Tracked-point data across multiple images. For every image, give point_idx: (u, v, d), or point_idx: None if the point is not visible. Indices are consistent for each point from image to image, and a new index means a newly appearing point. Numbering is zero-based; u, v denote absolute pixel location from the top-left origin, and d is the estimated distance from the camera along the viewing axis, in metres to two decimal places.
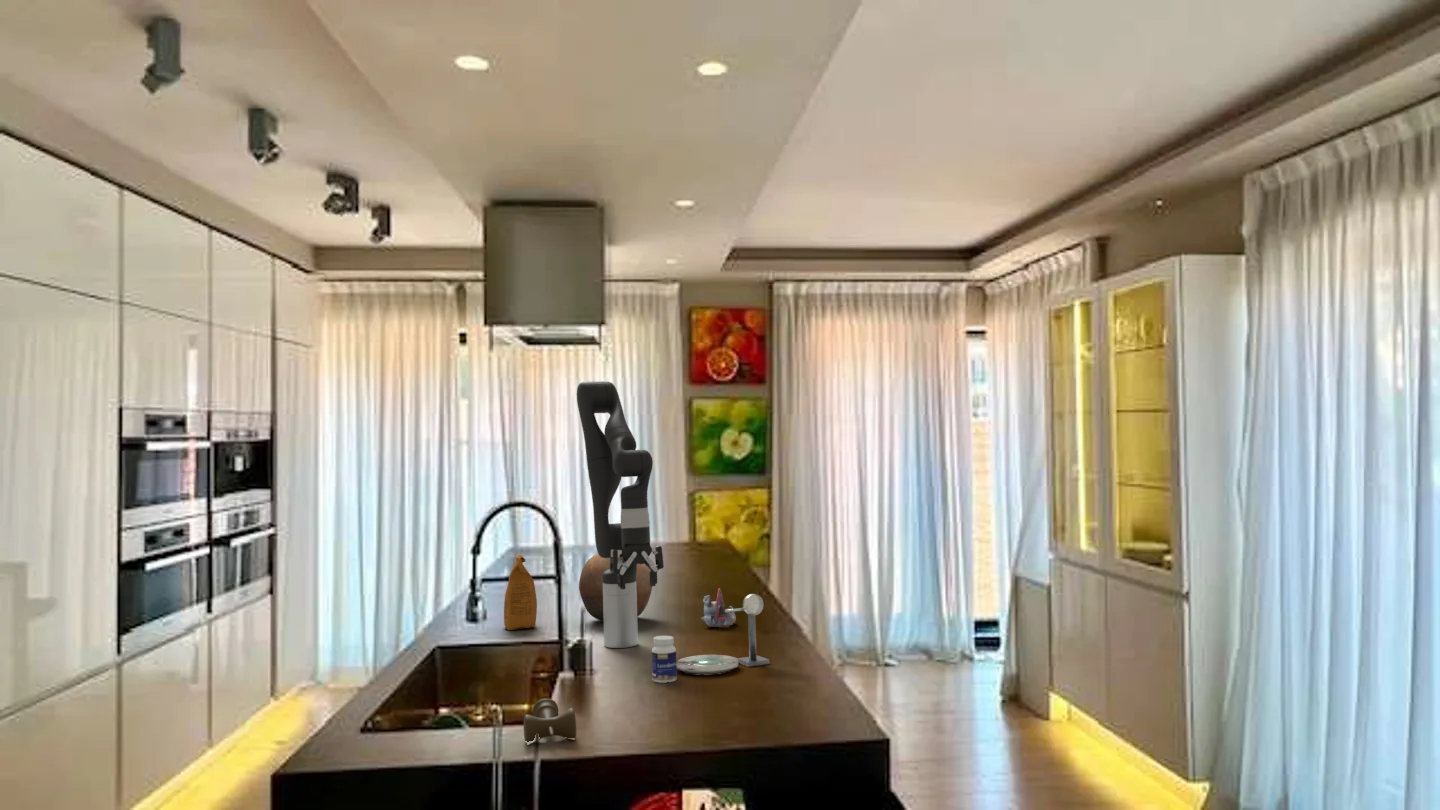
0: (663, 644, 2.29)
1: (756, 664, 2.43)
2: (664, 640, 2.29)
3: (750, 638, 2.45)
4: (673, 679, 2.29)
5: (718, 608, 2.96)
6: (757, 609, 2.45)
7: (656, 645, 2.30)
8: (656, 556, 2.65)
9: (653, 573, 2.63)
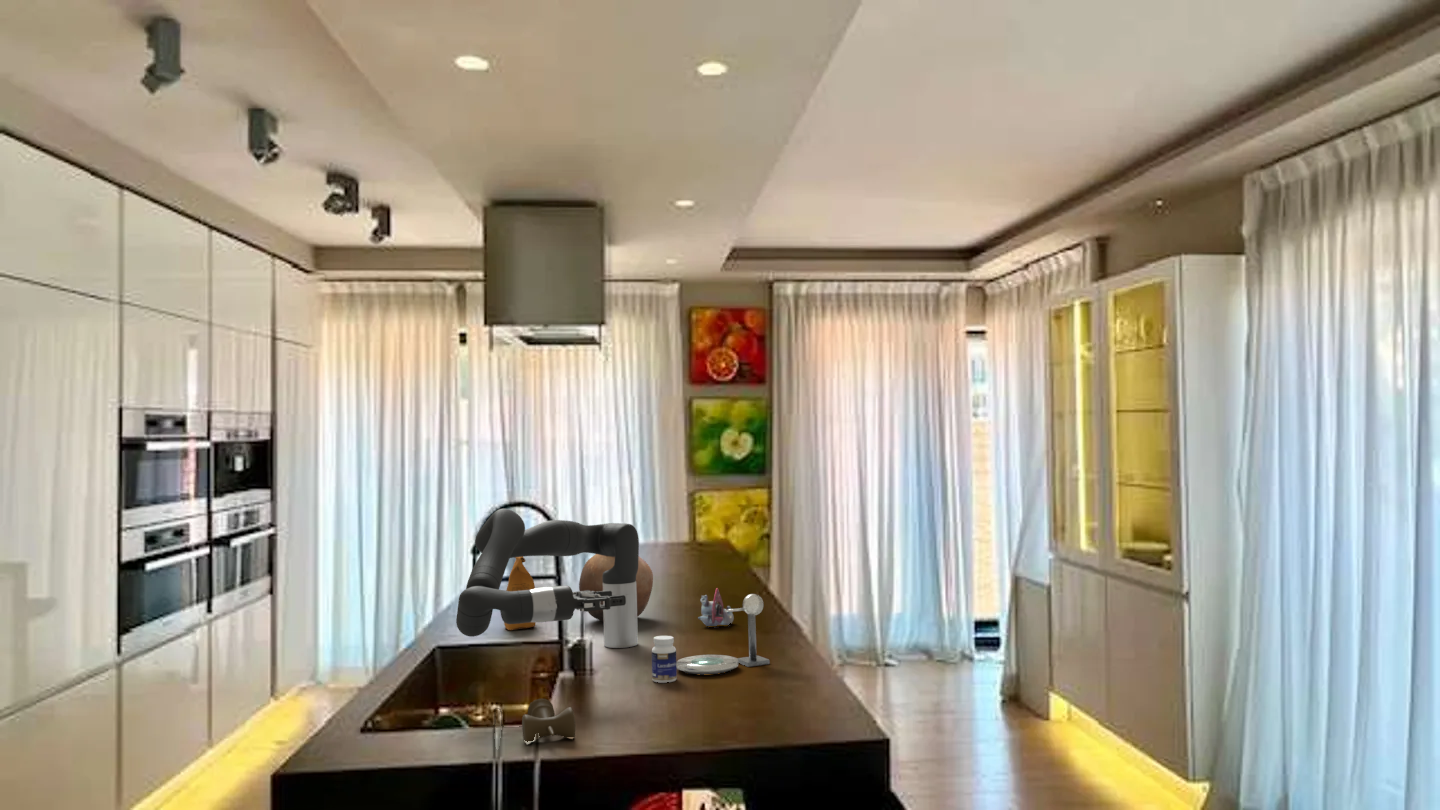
0: (663, 644, 2.29)
1: (756, 664, 2.43)
2: (664, 640, 2.29)
3: (750, 638, 2.45)
4: (673, 679, 2.29)
5: (715, 608, 2.96)
6: (757, 609, 2.45)
7: (656, 645, 2.30)
8: None
9: (597, 592, 2.29)
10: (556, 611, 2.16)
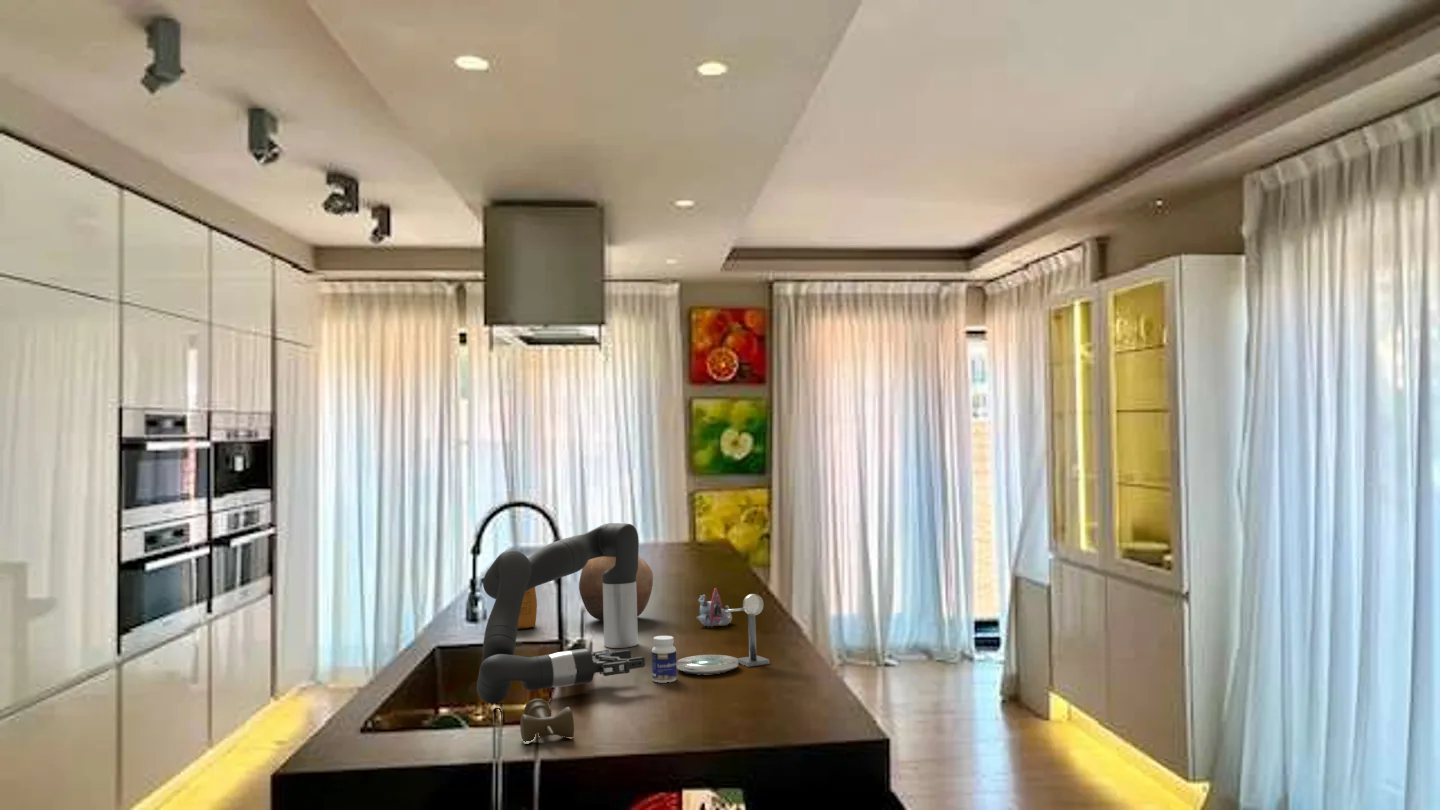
0: (663, 645, 2.29)
1: (756, 664, 2.43)
2: (664, 640, 2.29)
3: (750, 638, 2.45)
4: (673, 679, 2.29)
5: (714, 608, 2.97)
6: (757, 609, 2.45)
7: (656, 645, 2.30)
8: None
9: (616, 652, 2.29)
10: (576, 676, 2.17)
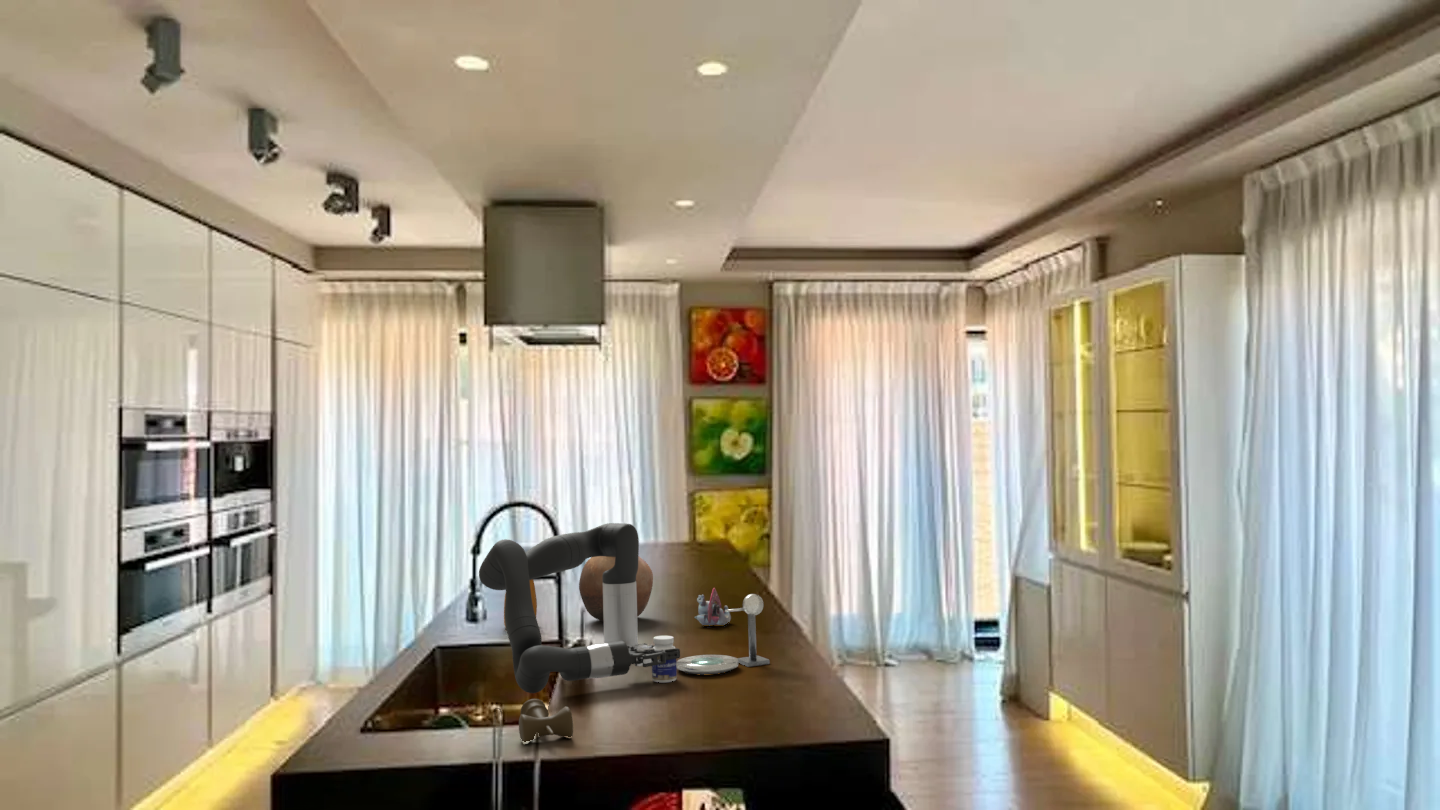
0: (663, 644, 2.29)
1: (756, 664, 2.43)
2: (664, 639, 2.29)
3: (750, 638, 2.45)
4: (673, 679, 2.29)
5: (712, 607, 2.97)
6: (757, 609, 2.45)
7: (656, 645, 2.30)
8: None
9: None
10: (613, 667, 2.21)
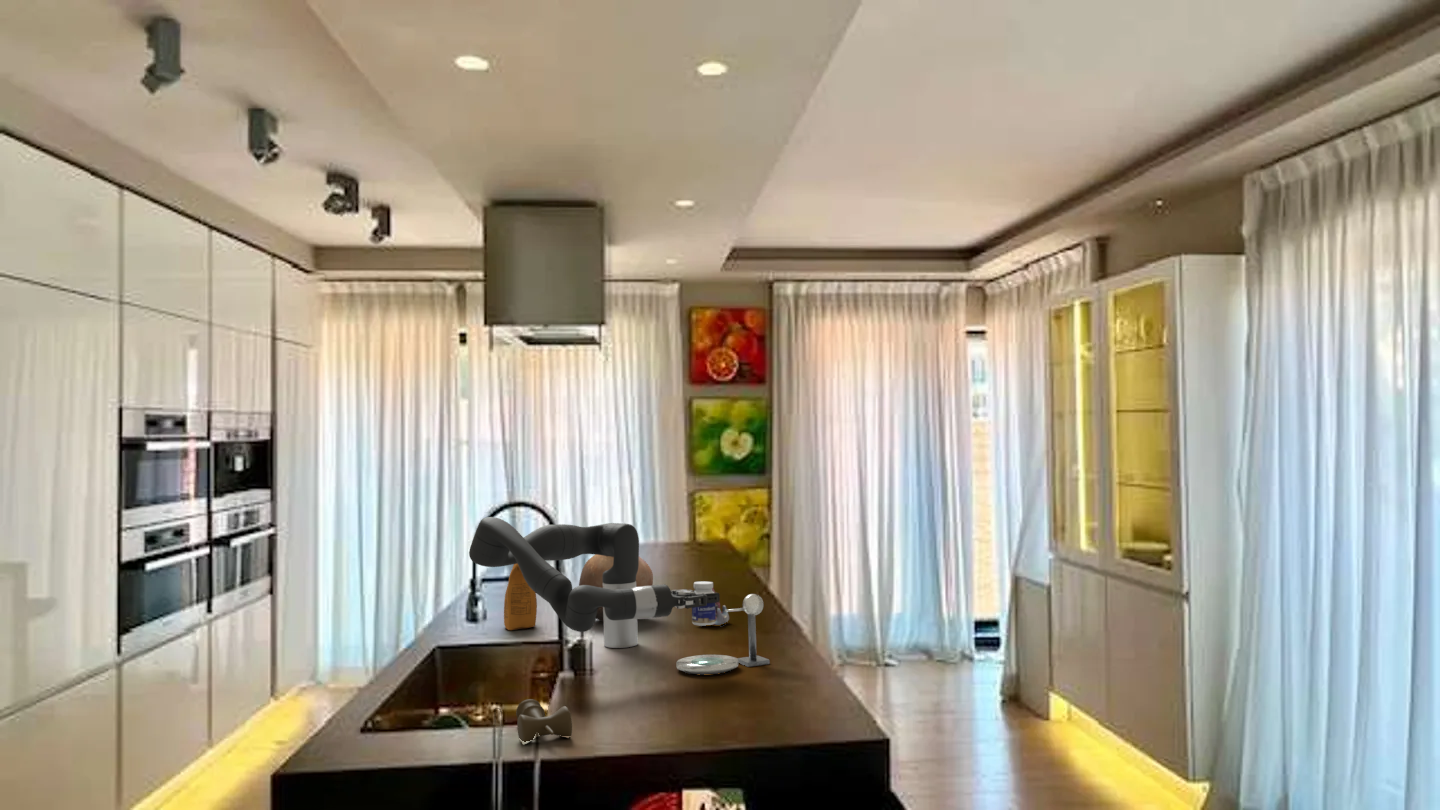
0: (704, 589, 2.38)
1: (756, 664, 2.43)
2: (705, 584, 2.38)
3: (750, 638, 2.45)
4: (712, 622, 2.38)
5: None
6: (757, 609, 2.45)
7: (696, 589, 2.39)
8: None
9: (694, 590, 2.43)
10: (656, 608, 2.31)
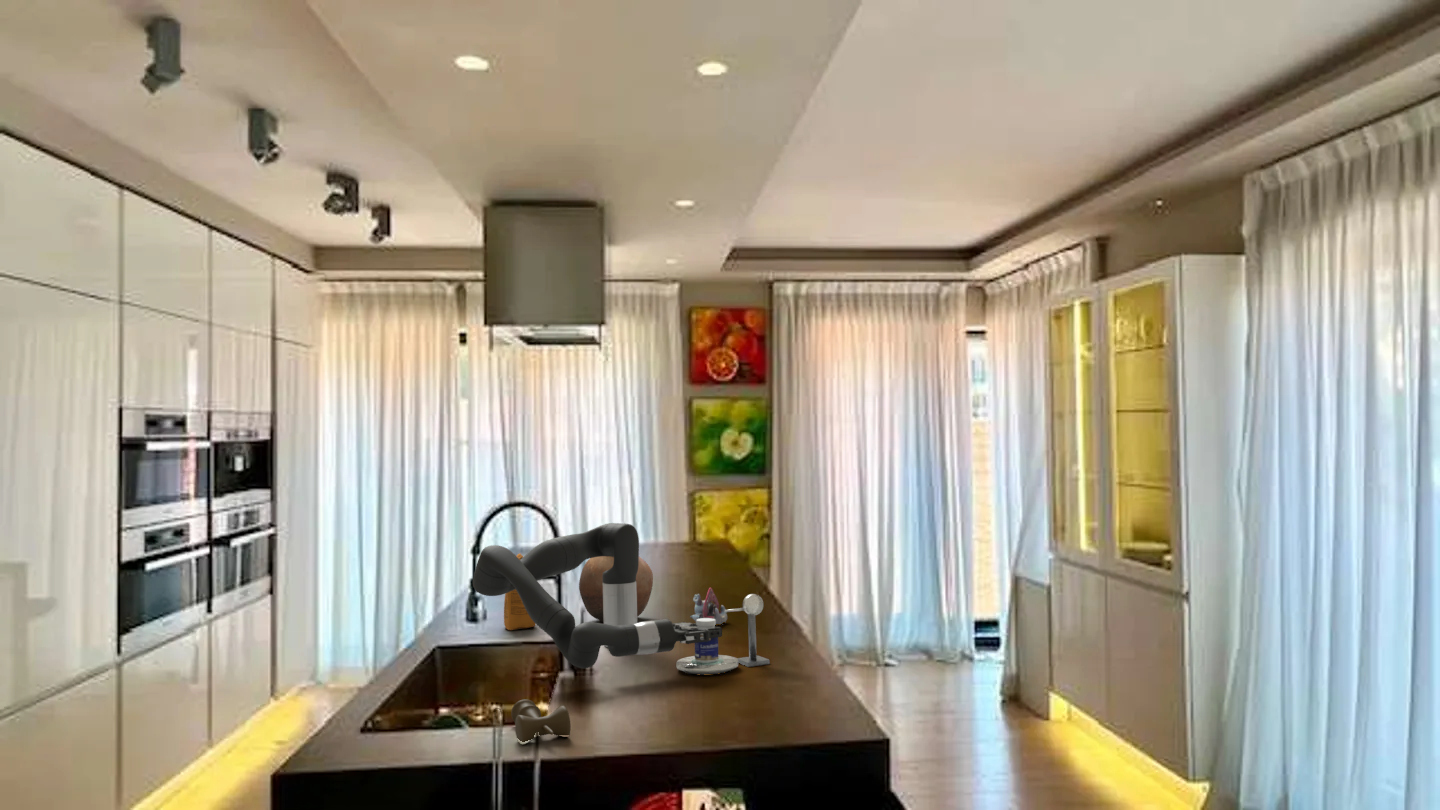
0: (706, 626, 2.38)
1: (756, 664, 2.43)
2: (707, 622, 2.38)
3: (750, 638, 2.45)
4: (715, 659, 2.38)
5: (708, 607, 2.98)
6: (757, 609, 2.45)
7: (699, 627, 2.39)
8: None
9: (694, 623, 2.43)
10: (659, 644, 2.31)
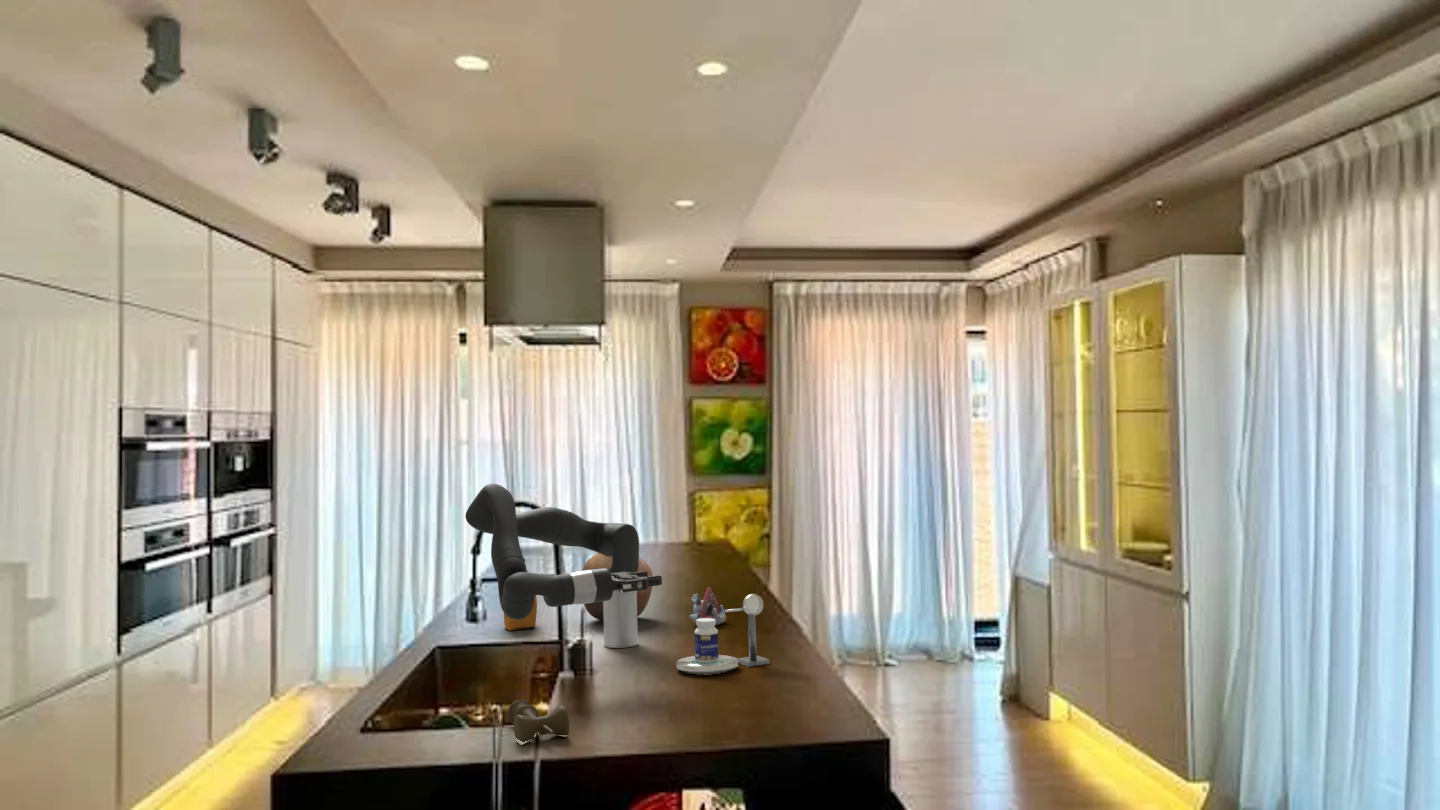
0: (706, 626, 2.38)
1: (756, 664, 2.43)
2: (707, 622, 2.38)
3: (750, 638, 2.45)
4: (715, 659, 2.38)
5: (706, 607, 2.99)
6: (757, 609, 2.45)
7: (699, 627, 2.39)
8: None
9: (633, 573, 2.38)
10: (596, 593, 2.26)
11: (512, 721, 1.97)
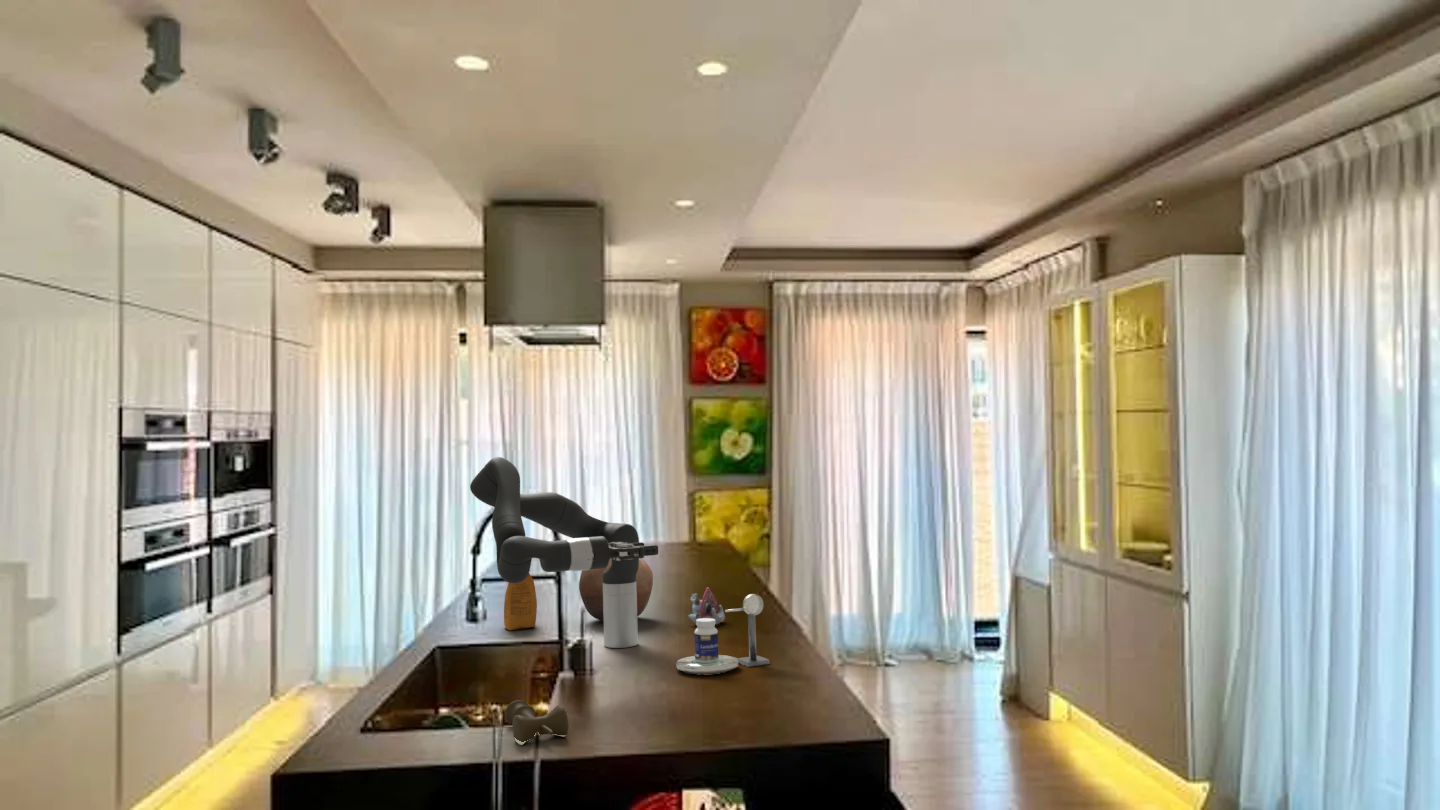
0: (706, 626, 2.38)
1: (756, 664, 2.43)
2: (707, 622, 2.38)
3: (750, 638, 2.45)
4: (715, 659, 2.38)
5: (705, 607, 2.99)
6: (757, 609, 2.45)
7: (699, 627, 2.39)
8: None
9: (630, 543, 2.39)
10: (593, 560, 2.27)
11: (510, 721, 1.97)
